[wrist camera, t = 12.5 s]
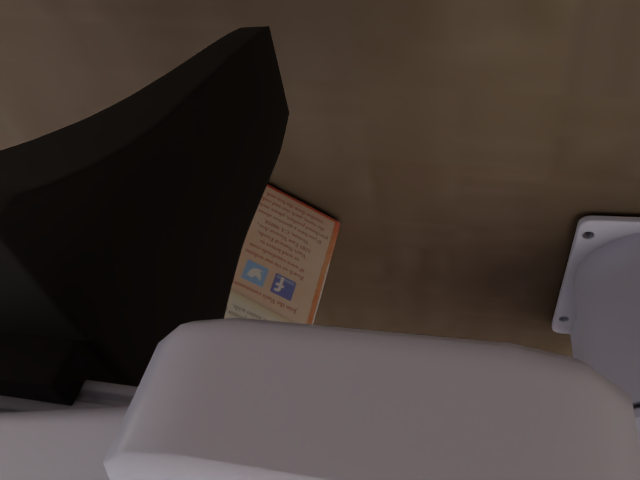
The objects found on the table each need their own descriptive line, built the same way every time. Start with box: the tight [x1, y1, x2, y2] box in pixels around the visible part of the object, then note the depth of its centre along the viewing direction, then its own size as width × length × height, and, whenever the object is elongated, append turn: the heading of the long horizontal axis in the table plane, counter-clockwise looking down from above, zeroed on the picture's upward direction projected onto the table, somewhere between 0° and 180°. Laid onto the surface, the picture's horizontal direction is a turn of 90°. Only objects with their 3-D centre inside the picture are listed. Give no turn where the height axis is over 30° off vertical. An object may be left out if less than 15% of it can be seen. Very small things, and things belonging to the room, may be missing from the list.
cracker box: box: [224, 184, 340, 325], centre depth 27 cm, size 14×6×21 cm, turn 153°
